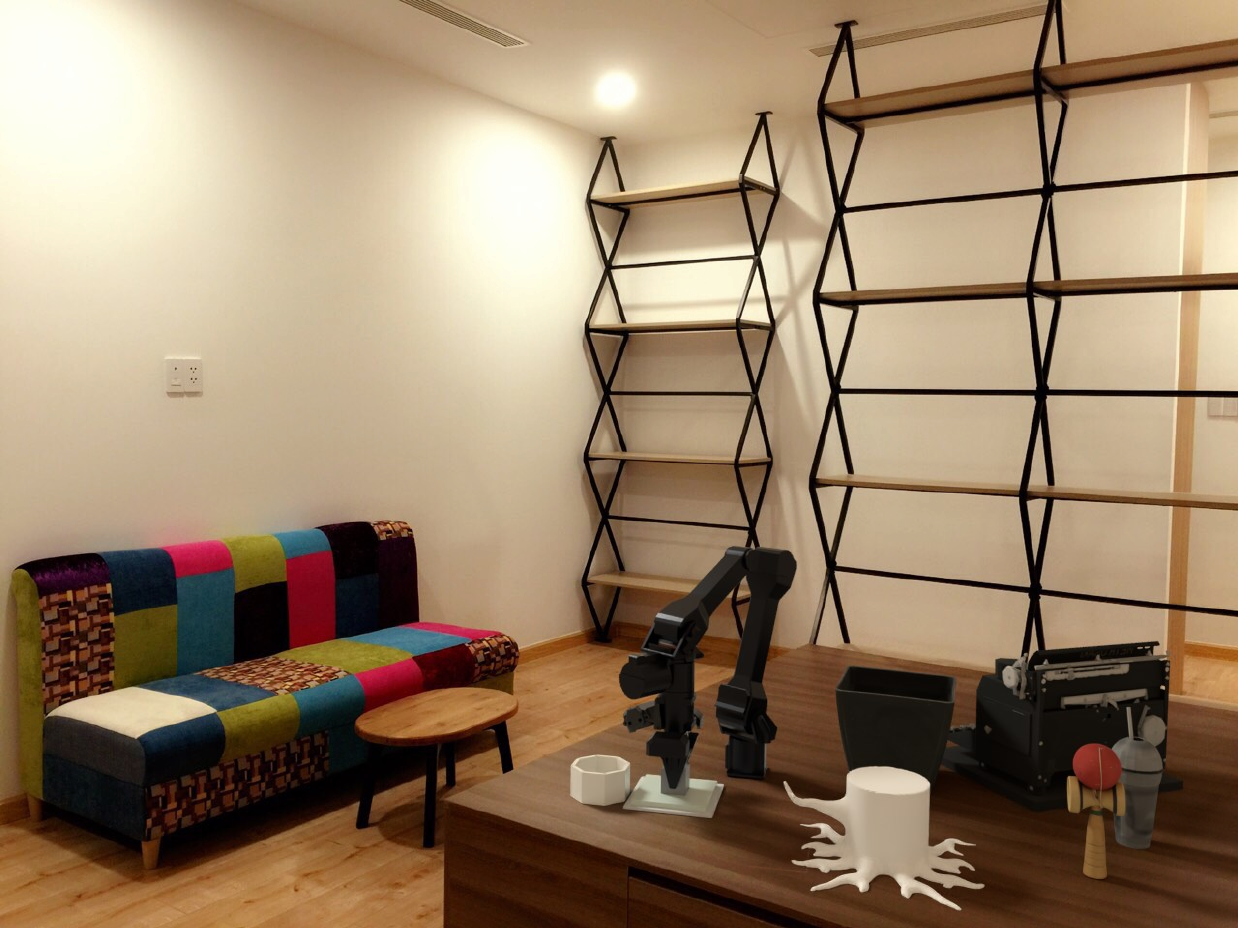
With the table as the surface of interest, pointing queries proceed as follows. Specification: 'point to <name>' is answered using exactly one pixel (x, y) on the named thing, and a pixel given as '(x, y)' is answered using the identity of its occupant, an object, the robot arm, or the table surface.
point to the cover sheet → (675, 801)
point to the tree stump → (883, 834)
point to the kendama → (1096, 799)
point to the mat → (675, 811)
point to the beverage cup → (1137, 789)
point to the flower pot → (895, 719)
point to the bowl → (600, 780)
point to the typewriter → (1060, 718)
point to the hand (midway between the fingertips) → (675, 783)
